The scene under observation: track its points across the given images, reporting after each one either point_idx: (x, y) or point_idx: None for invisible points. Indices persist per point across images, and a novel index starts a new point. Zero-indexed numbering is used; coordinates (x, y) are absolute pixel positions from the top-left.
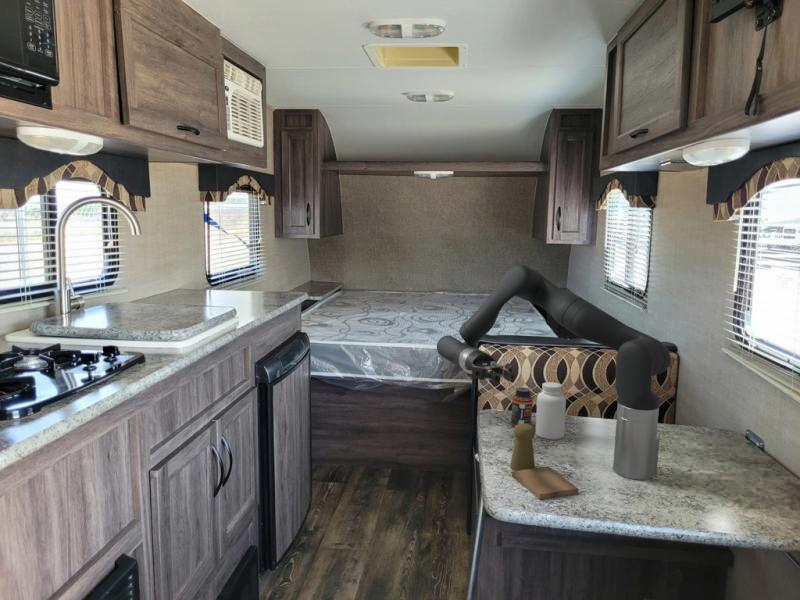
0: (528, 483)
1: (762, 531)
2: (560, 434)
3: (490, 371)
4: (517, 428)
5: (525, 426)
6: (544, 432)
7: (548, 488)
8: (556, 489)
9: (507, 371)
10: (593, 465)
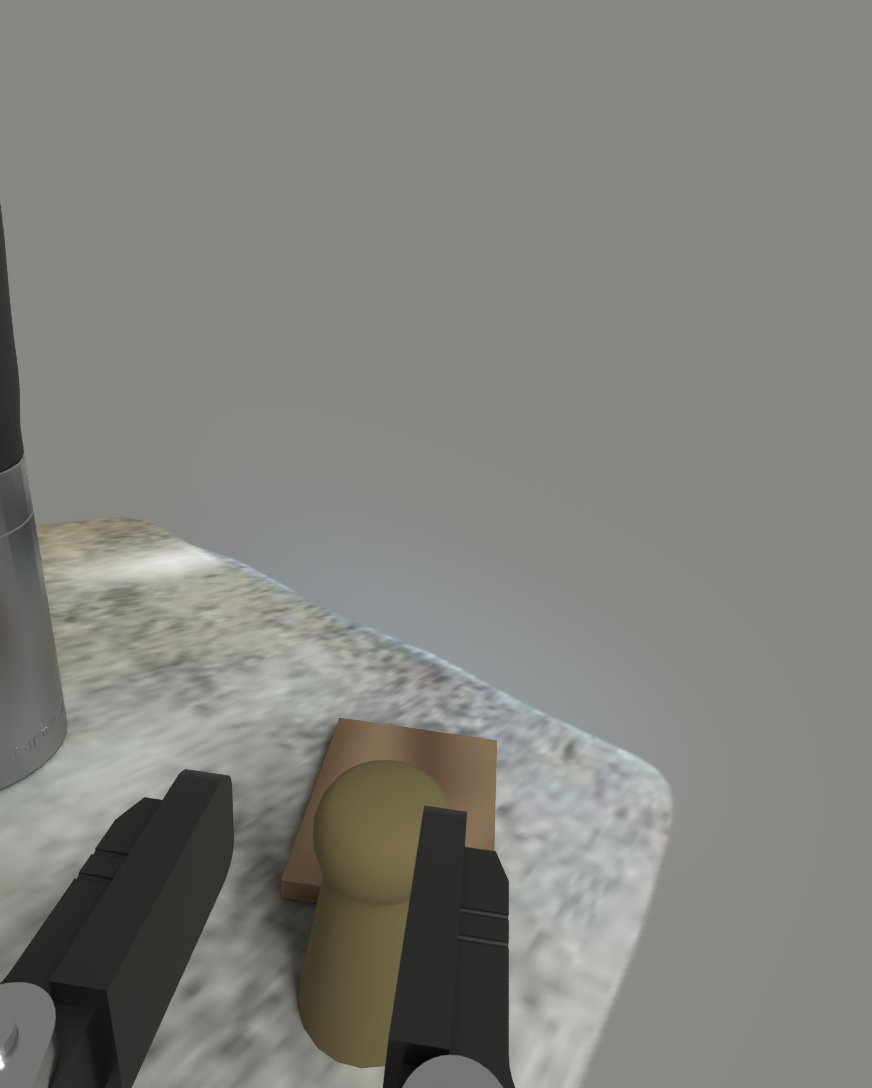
0: (487, 802)
1: (138, 534)
2: None
3: (468, 1061)
4: (446, 804)
5: (397, 776)
6: None
7: (438, 753)
8: (417, 738)
9: (129, 900)
10: (24, 849)
